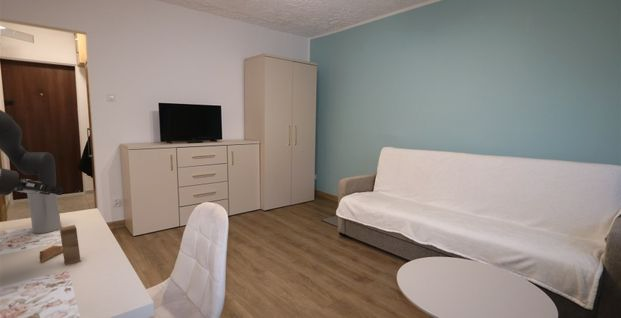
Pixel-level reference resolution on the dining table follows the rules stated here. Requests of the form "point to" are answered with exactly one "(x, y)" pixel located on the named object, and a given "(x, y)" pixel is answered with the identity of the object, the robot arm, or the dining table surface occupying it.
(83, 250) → the dining table surface
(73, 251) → the pillar
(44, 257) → the shard
